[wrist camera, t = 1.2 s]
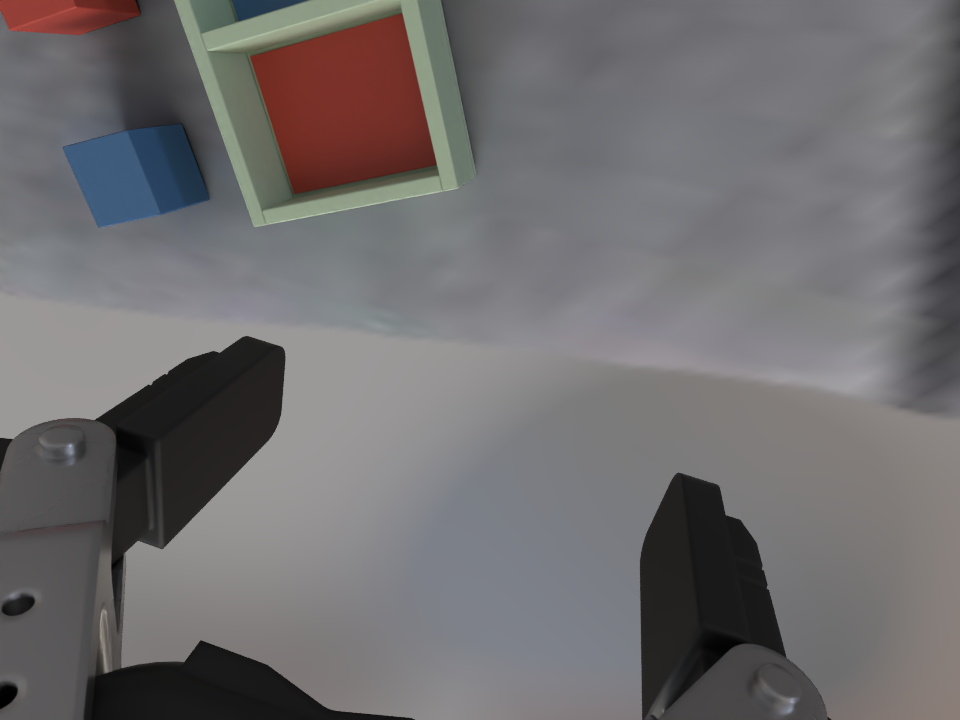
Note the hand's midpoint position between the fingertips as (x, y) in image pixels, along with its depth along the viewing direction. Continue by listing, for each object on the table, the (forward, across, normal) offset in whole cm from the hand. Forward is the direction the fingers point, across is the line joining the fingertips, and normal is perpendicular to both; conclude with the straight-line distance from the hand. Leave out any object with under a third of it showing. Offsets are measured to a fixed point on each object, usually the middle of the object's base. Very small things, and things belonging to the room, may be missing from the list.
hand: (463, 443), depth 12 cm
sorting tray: (+23, +14, -6) cm, 28 cm away
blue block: (+23, +24, +4) cm, 33 cm away
